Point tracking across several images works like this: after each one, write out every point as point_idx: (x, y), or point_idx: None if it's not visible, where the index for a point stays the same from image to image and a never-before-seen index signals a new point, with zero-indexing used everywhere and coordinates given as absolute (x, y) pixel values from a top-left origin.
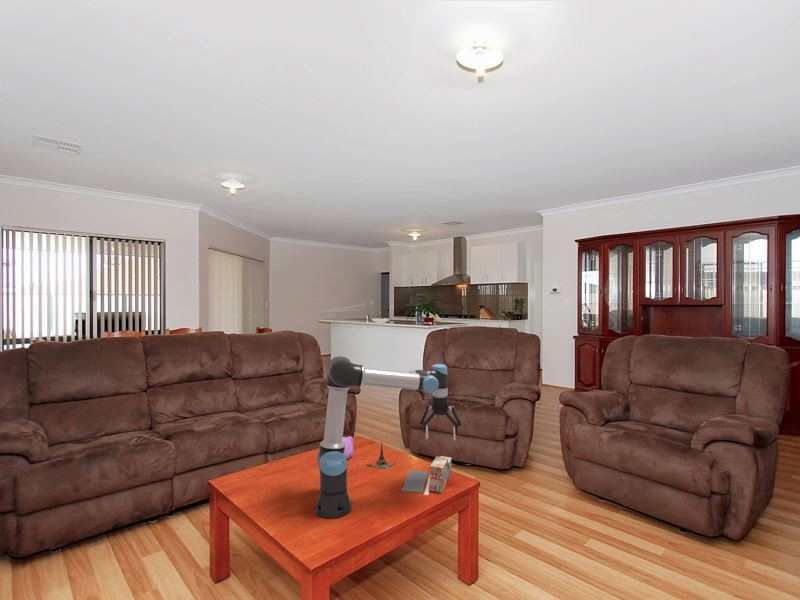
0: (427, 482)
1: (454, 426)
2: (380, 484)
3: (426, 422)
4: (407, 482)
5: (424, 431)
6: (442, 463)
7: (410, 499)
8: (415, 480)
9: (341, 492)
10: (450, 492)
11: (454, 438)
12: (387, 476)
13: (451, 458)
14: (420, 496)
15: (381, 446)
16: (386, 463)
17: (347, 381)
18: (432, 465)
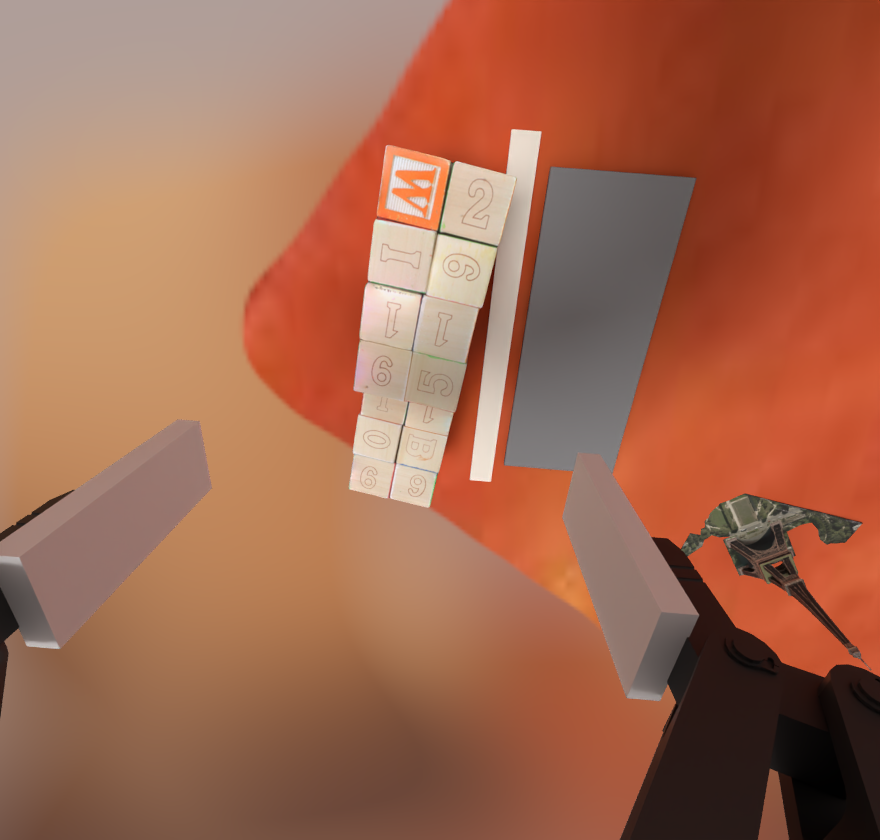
0: (512, 325)
1: (15, 594)
2: (822, 280)
3: (728, 707)
4: (640, 312)
5: (662, 543)
6: (394, 254)
7: (643, 41)
8: (586, 346)
9: None
10: (366, 198)
11: (169, 431)
12: (753, 399)
13: (350, 482)
14: (566, 107)
15: (840, 631)
16: (738, 545)
17: None
18: (492, 188)
